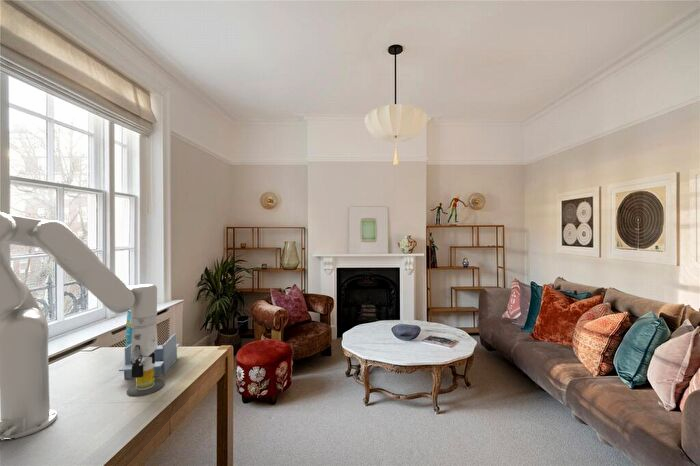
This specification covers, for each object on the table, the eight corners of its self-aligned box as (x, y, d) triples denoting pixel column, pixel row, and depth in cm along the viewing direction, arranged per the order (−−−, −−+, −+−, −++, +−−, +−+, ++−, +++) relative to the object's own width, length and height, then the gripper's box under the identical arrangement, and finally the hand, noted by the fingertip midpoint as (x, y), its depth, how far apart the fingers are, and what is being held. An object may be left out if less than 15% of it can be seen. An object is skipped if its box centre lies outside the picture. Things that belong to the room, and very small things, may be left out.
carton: (160, 379, 115) (159, 349, 115) (118, 384, 112) (118, 353, 112) (179, 355, 138) (179, 329, 138) (145, 358, 135) (145, 332, 135)
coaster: (157, 394, 105) (157, 392, 105) (120, 398, 103) (120, 396, 103) (169, 378, 116) (169, 377, 116) (135, 382, 114) (135, 380, 114)
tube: (121, 355, 139) (120, 311, 138) (133, 351, 143) (132, 308, 142) (130, 358, 135) (129, 313, 135) (143, 354, 139) (142, 310, 139)
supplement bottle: (135, 386, 109) (134, 358, 109) (153, 381, 113) (152, 354, 113) (137, 392, 105) (136, 363, 105) (155, 387, 109) (155, 359, 109)
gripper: (145, 327, 101) (145, 381, 101) (165, 314, 118) (164, 360, 118) (119, 328, 100) (118, 383, 100) (142, 315, 117) (142, 361, 116)
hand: (143, 370), depth 109 cm, fingers open, 9 cm apart
